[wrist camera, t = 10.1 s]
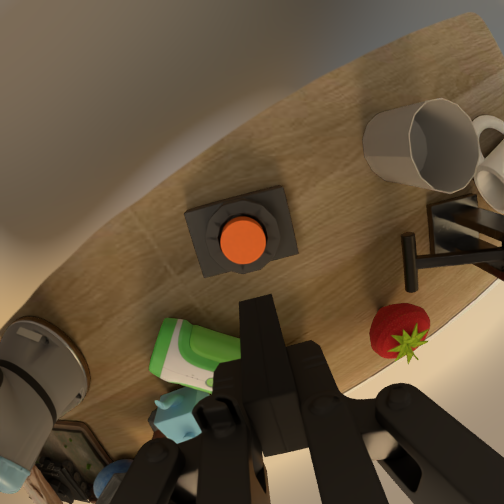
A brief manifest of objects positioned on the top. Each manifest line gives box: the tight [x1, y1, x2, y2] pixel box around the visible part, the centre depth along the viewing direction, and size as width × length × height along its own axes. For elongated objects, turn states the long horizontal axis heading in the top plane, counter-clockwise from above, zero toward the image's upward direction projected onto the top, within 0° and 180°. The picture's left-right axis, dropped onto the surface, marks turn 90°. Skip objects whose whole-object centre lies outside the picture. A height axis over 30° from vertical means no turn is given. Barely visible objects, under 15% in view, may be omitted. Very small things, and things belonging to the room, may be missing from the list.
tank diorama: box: [34, 420, 113, 504], centre depth 40 cm, size 28×25×11 cm
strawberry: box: [369, 303, 430, 364], centre depth 32 cm, size 6×8×10 cm
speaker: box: [149, 318, 241, 394], centre depth 34 cm, size 18×7×8 cm, turn 69°
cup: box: [362, 98, 480, 194], centre depth 27 cm, size 8×8×10 cm
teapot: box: [154, 387, 210, 444], centre depth 36 cm, size 12×6×8 cm, turn 28°
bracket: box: [427, 193, 504, 281], centre depth 28 cm, size 8×7×14 cm
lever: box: [401, 232, 504, 293], centre depth 26 cm, size 14×6×2 cm, turn 105°
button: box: [220, 216, 266, 264], centre depth 29 cm, size 4×4×2 cm
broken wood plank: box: [22, 465, 63, 504], centre depth 35 cm, size 28×12×5 cm, turn 46°
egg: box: [93, 459, 133, 498], centre depth 40 cm, size 9×9×15 cm
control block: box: [184, 185, 299, 278], centre depth 32 cm, size 10×7×4 cm
